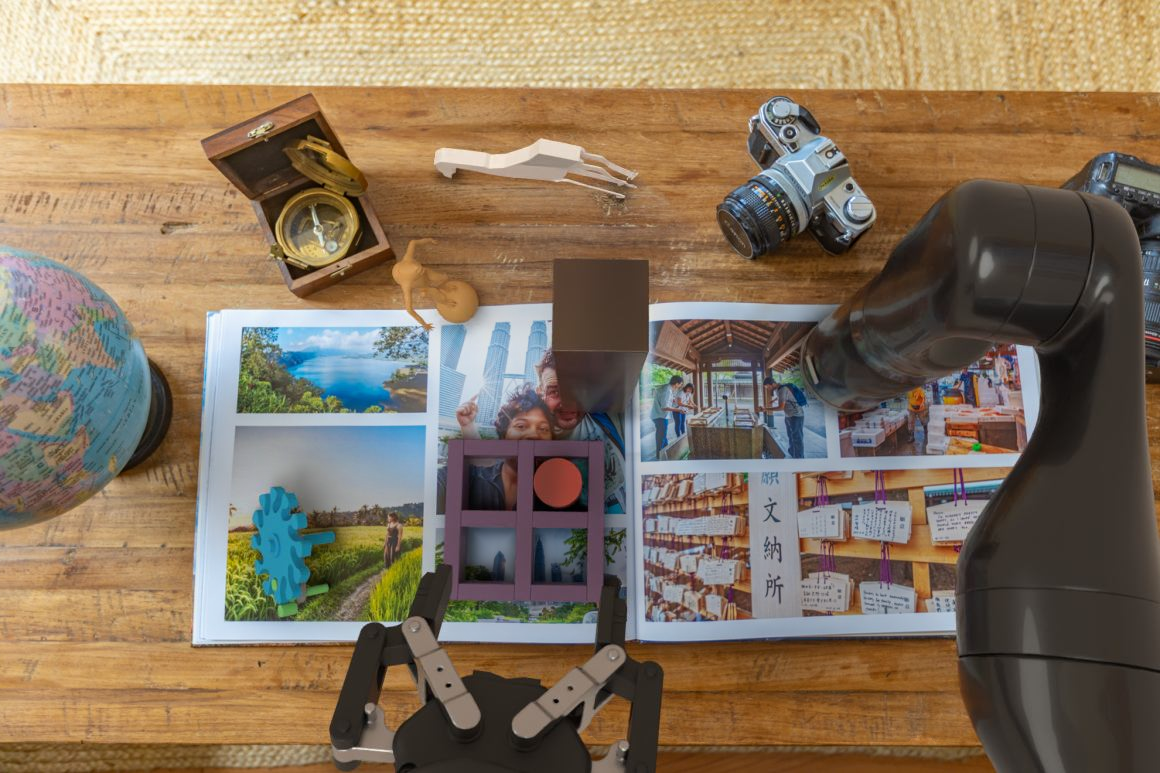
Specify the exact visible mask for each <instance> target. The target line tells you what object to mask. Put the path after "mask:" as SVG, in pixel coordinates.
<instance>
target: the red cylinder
mask: <svg viewBox="0 0 1160 773" xmlns="http://www.w3.org/2000/svg"><path fill="white" fill-rule="evenodd" d="M534 489H535V492H536V497H538V498H539V500H540V501H541V502H542V503H544V504H545V505H547V506H548V507H550V508H552V509H555V510H565V509H567V508H570V507H573V506H574V505H575V504H576V503H577V502H578V501H579V499H580V498H581V495H582V491H583V477H582V474H581V471H580V470H579V468H578V466H577V465H576V464H575V463H574V462H572V461H571V460H566V459H563V458H553V459H550V460H545V461H544V462H542V463H541V464H540V465H539V466H538V468H536V473H535V476H534Z"/></svg>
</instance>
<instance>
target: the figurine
mask: <svg viewBox="0 0 1160 773" xmlns="http://www.w3.org/2000/svg"><path fill="white" fill-rule="evenodd" d="M428 243H433V244H434V245H437V244H440V242H439V241H437V240H436V239H434V238H430V237H428V238H424V237H423V238H421V239H412V240H410V241H409V244H408V246H407V248H406V252H405V254H404V255H403V258H402V260H400V261H398V262H397V263H395V264H394V266H393V268H392V269H391V270H392V272H391V274H392V278H393V279H394V281H395V282H396V283H397V284H398V285H399V286H400V287H401V290H402V293H403V297H404V305H405V310H406V312H407V313H408V315H410V316H411V317H412V318H413V319H414V320H415V321H416V322H417V323H418V324H420V325H421V326H422V327H423V329H425V330H426V331H427V332H431V331H434V329H436V327H435V326H433V325H434V323H433V322H432V323H427V322H426V321H425V320H424V318H423V317H422V316H421V315H419V313H417V312H416V310H415V309H414V308H413V294H412V292H413V289H419V296H420V297H421V299H429V300H431V301H433V302H434V303H435V307H436V311H437V312H438V314H439V315H440V316H441V317H442V319H444V320H445V321H447V322H449V323H452V324H463V323H466V322H468V321H470V320H471V319H472V318H474V316H475V315H476V314H477V311H478V309H479V304H480V302H479V300H480V299H479V296H478V293H477V292H476V290H475V288H474V287H473V286H472V285H471V284H469V283H468V282H465V281H462V280H451V281H449V282H447V280H448V275H447V274H445V273H442V272H439V271H435V270H432V269H430V268H428V267H427V266H423V265H422V264H421V263H420V262H418V260H416V259H415V258H414V255H415V251H416V246H420V245H426V244H428ZM431 283H432V284H434V285H435V286H430V285H431Z"/></svg>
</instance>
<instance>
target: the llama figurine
mask: <svg viewBox="0 0 1160 773" xmlns="http://www.w3.org/2000/svg"><path fill="white" fill-rule="evenodd" d="M434 154H435V155H434V160H433V166H434V167H435V168H436V170H437V171H438V172H440V173H442V174H443V176H444V177H447V178H449V179H453V174H456V173H457V172H456V171H457V169H461V170H467V171H474V172H477V173H478V172H479V173H482V174H487V175H493V176H498V177H505V178H514V179H524V180H525V179H526V180H539V181H552V182H555V183H560V182H564V183H569V184H573V185H577V186H581V187H584V188H589V189H592V190H594V191H595V190H596V191H599V192H603V193H607V194H611V195H614V196H615V198H616V199H625V198H626V195H624V194H622V193H619V192H615V191H611V190H607V189H604V188H600V187H597V186H593V185H589V184H585V183H582V182H578V181H576V180H574V179H573V180H572V179H569V178H565V177H566V176H567V173H568V174H573V175H579V176H584V177H589V178H593V179H597V180H601V181H606V182H610V183H613V184H617V186H618V187H621V186H624V185H625V187H630V188H632V189H637V188H638V187H637V186H636V185H635V184H632V183H628V180H629V179H630V181H632V180H634V179H635V178H636V177H637V176H638V175H639V171H638V172H637V169H634V170H633V171H631V170H629V169H626V168H624V167H621V166H619V165H618V164H616V163H614V162H612V161H611V162H610V161H609V160H608V159H606V157H605V156H603V155H599V154H594V153H590V152H586V149H585V148H584V147H582V145H581V146H580V145H575V144H572V143H566V142H562V141H561V142H560V141H556V140H551V139H546V138H542V137H540V138H539V139H538V140H536V141H535V142H534V143H532V144H531V145H528V146H525V147H523V148H522V147H521V148H519V149H516V150H512V151H510V152H507V153H495V154H491V153H488V152H484V151H477V150H468V149H460V148H451V147H441V148H439V149H437V150H436V151H435V153H434ZM583 159H586V160H593V161H597V162H599V163H602V164H604V165H605V166H607V167H608V168H609V169H611V170H612V171H615V172H617V173H618V174H622V175H623V176H626V180H623V179H618V178H617V177H614V176H612V175H611V174H610V173H609V172H608V171H606V170H605V168H603V167H602V166H597V165H593V164H588V163H584V162H585V161H584V160H583Z"/></svg>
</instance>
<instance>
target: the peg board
mask: <svg viewBox="0 0 1160 773" xmlns="http://www.w3.org/2000/svg"><path fill="white" fill-rule="evenodd" d="M447 444H448V446H447V464H446V465H447V467H446V468H447V470H446V490H445V494H446V495H445V512H444V513H445V515H444V534H443V535H444V536H443V559H442V564H449V565H452V566H453V584H452V592H451V596H450V599H449V601H467V602H468V601H475V602H477V601H478V602H479V601H480V602H535V603H536V602H538V603H539V602H540V603H541V602H542V603H543V602H546V603H599V601H600V595H601V589H602V586H604V575H605V574H604V573H605V572H604V570H605V569H604V565H605V562H604V560H605V559H604V558H605V556H604V554H605V461H606V460H605V449H606V448H605V446H606V444H605V440H556V439H555V440H552V439H544V440H543V439H535V440H534V439H483V438H482V439H481V438H480V439H472V438H465V439H464V438H449V439H448V443H447ZM553 458H563V459H566V460H569V461H587V511H553V510H552V511H545V510H544V511H543V510H536V504H537V502H536V501H537V500H536V499H537V494H536V492H535V489H534V476H535V473H536V471H537V462H538V461H547V460H550V459H553ZM471 460H517V488H516V510H482V509H481V510H480V509H478V510H476V509H475V510H474V509H473V510H470V509H469V494H470V493H469V491H470V490H469V489H470V466H471ZM469 527H470V528H515V555H514V580H466V572H467V571H466V568H467V542H468V541H467V540H468V528H469ZM536 528H537V529H542V528H543V529H587V538H586V540H587V541H586V542H587V543H586V581H535V549H536V548H535V546H536V545H535V542H536V541H535V540H536V539H535V538H536Z"/></svg>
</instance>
